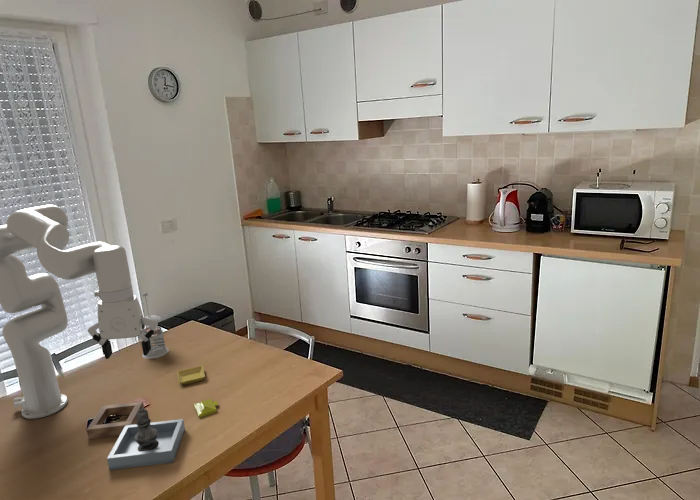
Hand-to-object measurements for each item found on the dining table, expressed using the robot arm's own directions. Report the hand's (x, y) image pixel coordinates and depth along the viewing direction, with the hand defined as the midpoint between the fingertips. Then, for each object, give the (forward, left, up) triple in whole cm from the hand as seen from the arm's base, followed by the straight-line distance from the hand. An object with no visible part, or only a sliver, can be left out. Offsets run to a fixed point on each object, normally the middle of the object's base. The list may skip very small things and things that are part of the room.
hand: (128, 354), depth 127 cm
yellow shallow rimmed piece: (+6, +34, -27) cm, 44 cm away
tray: (+2, -3, -27) cm, 27 cm away
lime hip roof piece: (+15, +13, -28) cm, 34 cm away
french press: (-13, +57, -27) cm, 64 cm away
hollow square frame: (-11, +11, -27) cm, 31 cm away
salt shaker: (+2, -3, -26) cm, 26 cm away
